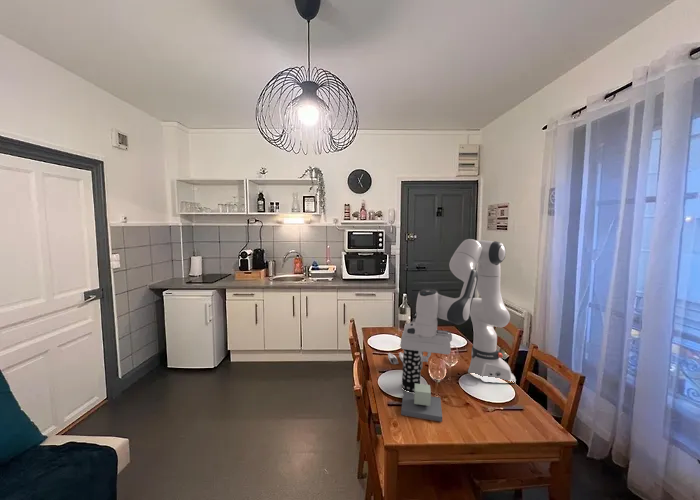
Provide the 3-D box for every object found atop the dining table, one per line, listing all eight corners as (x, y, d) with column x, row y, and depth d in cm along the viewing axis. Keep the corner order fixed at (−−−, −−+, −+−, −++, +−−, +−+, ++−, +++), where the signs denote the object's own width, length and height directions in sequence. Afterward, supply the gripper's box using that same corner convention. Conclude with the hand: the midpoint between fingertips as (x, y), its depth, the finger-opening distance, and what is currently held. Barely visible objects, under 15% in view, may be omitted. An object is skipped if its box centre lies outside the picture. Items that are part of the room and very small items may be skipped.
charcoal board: (440, 402, 137) (440, 397, 137) (442, 421, 124) (442, 417, 124) (403, 396, 141) (403, 392, 141) (401, 414, 127) (401, 410, 127)
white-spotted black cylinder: (399, 389, 146) (401, 348, 144) (404, 382, 154) (407, 342, 152) (416, 395, 142) (419, 352, 141) (421, 386, 150) (424, 346, 148)
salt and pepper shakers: (411, 365, 172) (407, 357, 183) (411, 358, 172) (407, 350, 183) (389, 364, 172) (386, 356, 183) (389, 357, 172) (387, 349, 183)
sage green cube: (429, 397, 134) (429, 385, 134) (430, 405, 128) (430, 393, 128) (414, 395, 136) (414, 383, 135) (414, 403, 129) (414, 391, 129)
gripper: (451, 328, 130) (449, 361, 131) (401, 323, 134) (400, 355, 136) (453, 334, 124) (451, 367, 125) (400, 328, 128) (399, 361, 130)
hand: (424, 361), depth 130 cm, fingers closed
